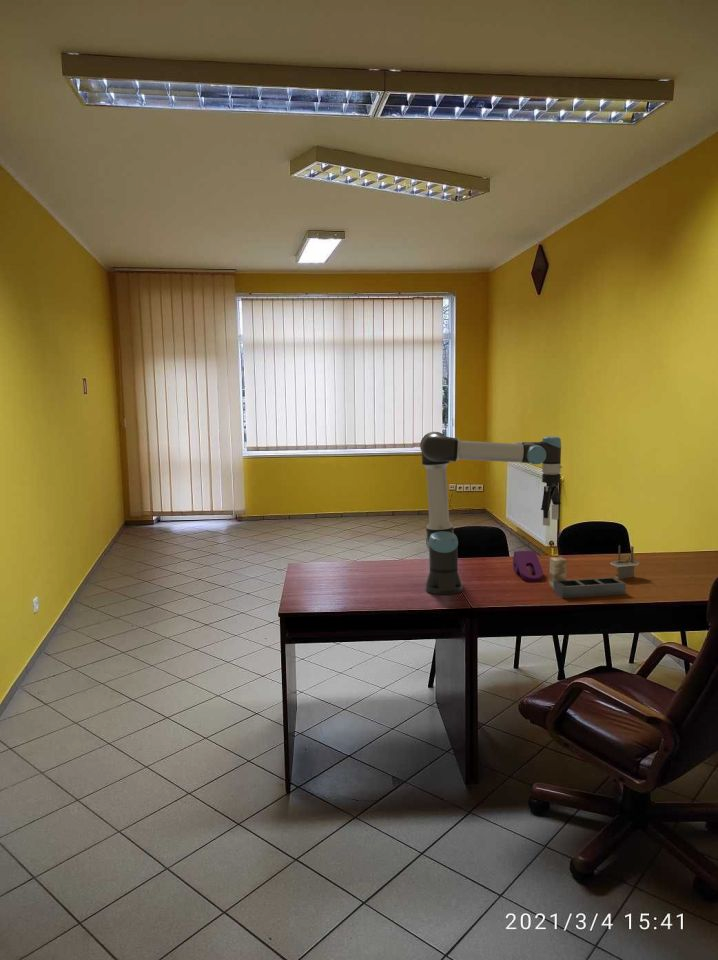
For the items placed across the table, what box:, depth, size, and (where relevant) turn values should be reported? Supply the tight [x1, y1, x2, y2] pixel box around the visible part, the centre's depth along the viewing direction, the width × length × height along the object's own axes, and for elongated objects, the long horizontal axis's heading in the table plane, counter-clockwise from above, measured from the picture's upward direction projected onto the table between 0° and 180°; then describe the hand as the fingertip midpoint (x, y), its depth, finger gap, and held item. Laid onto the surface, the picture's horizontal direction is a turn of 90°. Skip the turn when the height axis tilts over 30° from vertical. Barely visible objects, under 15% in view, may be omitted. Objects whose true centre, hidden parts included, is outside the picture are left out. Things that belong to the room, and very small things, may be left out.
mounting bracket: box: [512, 550, 544, 582], centre depth 292 cm, size 10×8×18 cm
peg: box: [548, 556, 567, 589], centre depth 274 cm, size 5×5×12 cm
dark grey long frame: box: [552, 576, 627, 599], centre depth 265 cm, size 26×9×4 cm, turn 96°
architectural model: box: [610, 545, 640, 580], centre depth 285 cm, size 21×25×14 cm
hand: (550, 522), depth 283 cm, fingers open, 13 cm apart
